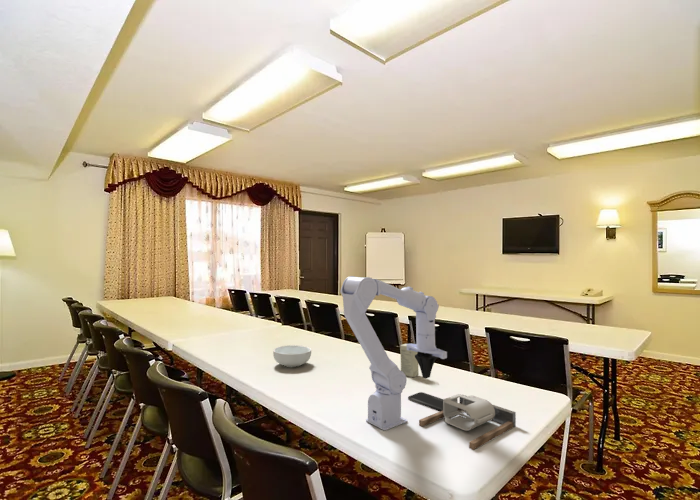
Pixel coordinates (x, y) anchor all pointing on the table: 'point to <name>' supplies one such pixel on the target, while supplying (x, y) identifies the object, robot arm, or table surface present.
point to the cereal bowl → (292, 355)
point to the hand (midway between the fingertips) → (426, 377)
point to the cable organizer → (467, 411)
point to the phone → (427, 400)
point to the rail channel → (501, 416)
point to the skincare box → (408, 361)
